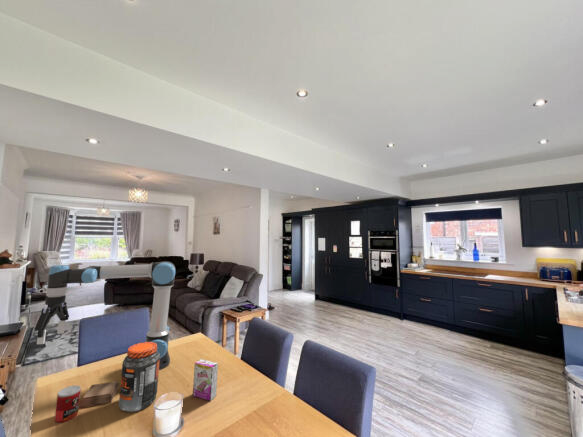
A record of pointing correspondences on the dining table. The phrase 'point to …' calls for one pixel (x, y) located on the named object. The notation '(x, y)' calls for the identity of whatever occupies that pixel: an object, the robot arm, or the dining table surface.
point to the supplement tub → (139, 377)
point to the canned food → (67, 403)
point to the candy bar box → (205, 379)
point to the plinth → (100, 394)
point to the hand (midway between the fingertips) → (51, 338)
